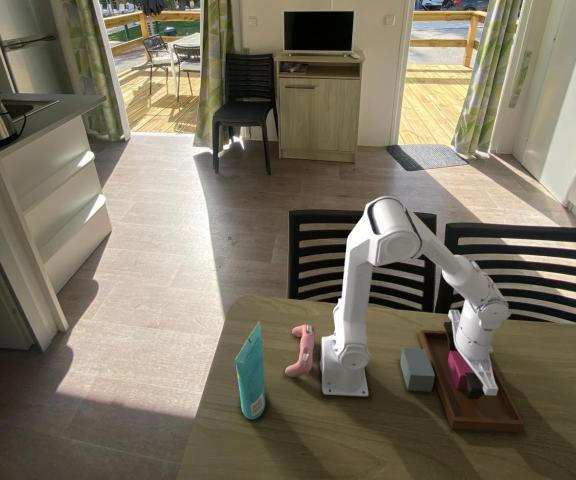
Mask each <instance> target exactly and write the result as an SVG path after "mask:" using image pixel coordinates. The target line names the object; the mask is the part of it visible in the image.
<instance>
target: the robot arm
mask: <svg viewBox="0 0 576 480" xmlns="http://www.w3.org/2000/svg"><path fill="white" fill-rule="evenodd" d="M422 255H424V256H425V258H428V259H429V261H431V262H432V263H433V264H435V265H436V266H437V267H438V268H440V270H441V276H442V277H443V279H444V280H445V282H446V283H447V284H448V285H449V286H451V287H452V288H453V289H454V290H455V291H456V292H457V293H458V294H459V295H460V296H462V298H463V299H464V301H463V307H462V310H461V312H460V310H459V309H449V311H448V314H447V315H448V318H449V321H444V322H443V325H442V326H443V328H444V331H446V334H447V339H448V348H449V353H450V351H459V353H460V354H461V355H462V357H463V358H464V359H465V361H466V362H467V363H468V365H469V366H470V367H471V368H472V370H473V371H474V372H475V373H468V372H465V376H466V378H467V396H468V398H469V399H479V398H480V397H481V396H482V395H484V394H485V395H495V396H496V394H497V391H498V390H499V384H498V382H497V380H496V378H495V376H494V375H493V371H492V366H491V361H492V360H491V361H490V359H491V356H490V354H493V352H494V348H493V347H492V343H493V340H494V336H495V334H496V330H498V329H499V328H500V327H501V324H502V323H503V322H505V321H506V320H508V318H509V317H511V315H512V312H511V311H510V310H509V309H510V308H509V303H508V302H507V300H506V298H505V297H504V296H503V294H502V292H501V291H500V290H499V288H498V287H497V285H496V284H495V282H494V281H493V279H492V278H491V277H490V276H489V273H487V272H485V271H482V269H481V268H480V266H479V265H478V263H477V262H476V261H474V260H471V261H470V260H469V259H468V258H466V256H464V255H461V254H453V253H452V252H451V250H449V248H448V247H447V246H446V245H445V244H444V243H443V242H442V241H441V240H440V239H439V238H438V237H437V235H436V234H434V232H432V230H431V229H430V227H428V226H427V225H426V224H425V223H424V222H423V221H422V220H421V219H420V217H418V216H417V215H416V213H415V212H413V210H412V209H410V208H409V207H407V206H405V209H404V205H403V203H402V202H401V200H400V199H398V197H395V196H392V195H383V196H379V197H377V198H376V199H374V200H372V201H370V202H368V203H366V204H365V207H364V211H363V214H362V217H361V218H360V219H359V221H358V222H356V225H355V226H354V228H353V229H352V230H351V231H350V233H349V235H348V236H347V239H346V249H345V257H344V258H345V259H344V269H343V281H342V291H341V297H340V298H338V302H337V305H336V306H335V307H334V309H333V311H332V317H333V322H334V331H333V334H331V335H328V336H322V337H321V346H320V360H319V369H320V370H319V371H320V372H321V386H322V393H323V395H327V396H345V397H368V396H369V390H368V383H367V377H366V371H365V368H366V366H368V364H369V363H370V361H371V353H370V351H369V348H368V338H367V337H368V336H367V323H366V322H367V316H368V315H367V314H368V308H369V302H370V301H369V300H370V294H371V293H370V292H371V285H372V277H373V271H374V267H380V266H385V265H389V264H393V263H394V264H395V263H398V262H403V261H406V260H409V259H410V260H411V261H415V260H417V259H418V258H420V257H421V256H422Z"/></svg>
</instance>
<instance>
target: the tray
mask: <svg viewBox="0 0 576 480" xmlns="http://www.w3.org/2000/svg"><path fill="white" fill-rule="evenodd" d="M419 341H420V343H421V346H422V349H426V352H427V355H428V358H429V360H430V363H431V366H432V369H433V372H434V374H435V379H434V383H435V387H436V389H437V392H438V394H439V397H440V401H441V404H442V406H443V409H444V411H445V415H446V417H447V420H448V424H449V426H450V429H452V430H472V431H490V432H507V433H508V432H509V433H510V432H511V433H522V432H523V429H524V427H525V422H524V419H523V418H522V416H521V414H520V412H519V411H518V409H517V406H516V404H515V403H514V401H513V399H512V398H511V396H510V393H509V391H508V390H507V388H506V386H505V384H504V382H503V380H502V378H501V377H500V375H499V373H498V371H497V369H496V367H495V365H494V363H493V362H492V360H491V358H490V361H491V366H492V371H493V375H494V376H495V378H496V380H497V382H498V384H499V390H498V391H497V394H496V396H495V395H485V394H484V395H482V396H481V397H480V398H479V399H469V398H468V396H467V390H462V389H457V388H456V386H455V383H454V381H453V378H452V376H451V373H450V371H449V368H448V366H447V362H448V358H449V354H450V353H449V348H448V339H447V334H446V330H429V329H420V330H419Z"/></svg>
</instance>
